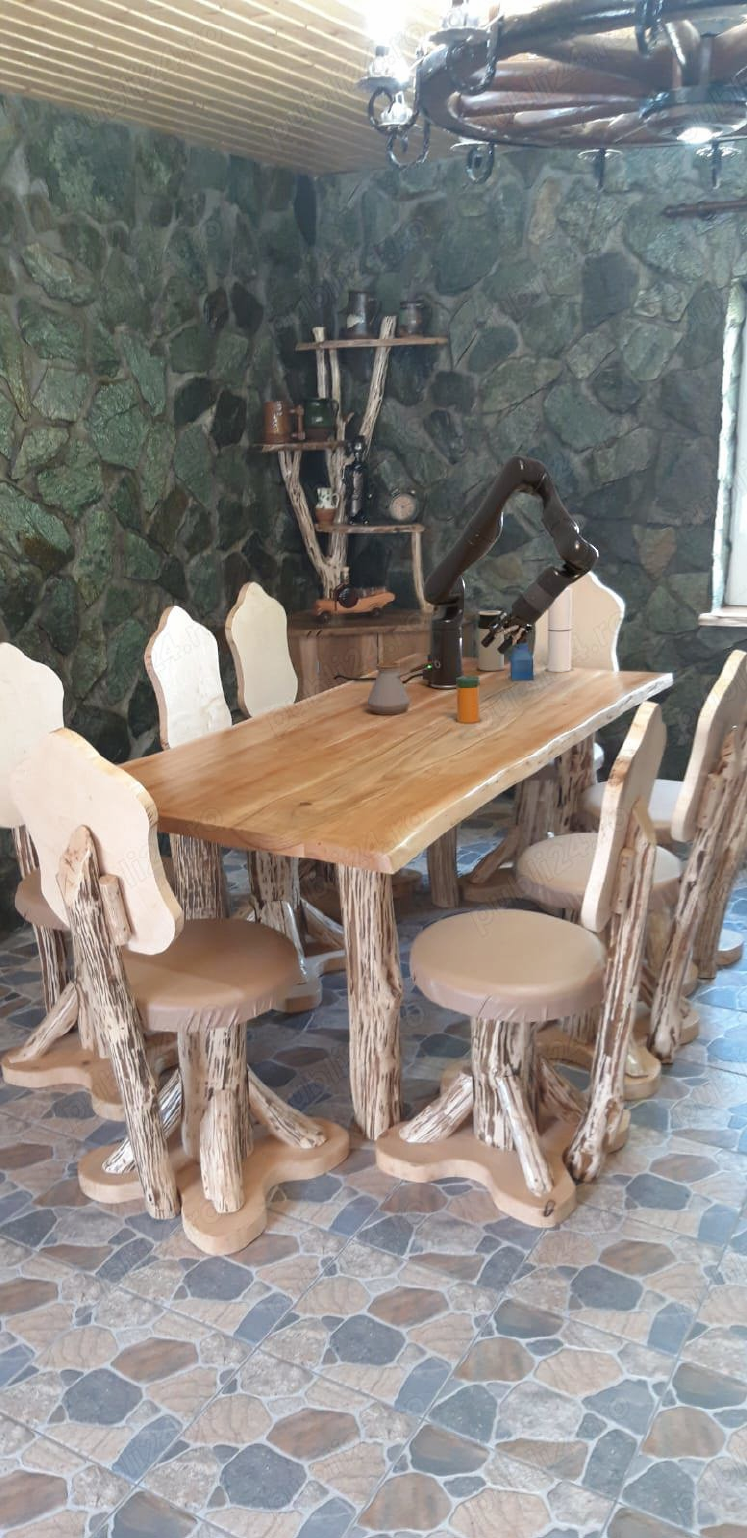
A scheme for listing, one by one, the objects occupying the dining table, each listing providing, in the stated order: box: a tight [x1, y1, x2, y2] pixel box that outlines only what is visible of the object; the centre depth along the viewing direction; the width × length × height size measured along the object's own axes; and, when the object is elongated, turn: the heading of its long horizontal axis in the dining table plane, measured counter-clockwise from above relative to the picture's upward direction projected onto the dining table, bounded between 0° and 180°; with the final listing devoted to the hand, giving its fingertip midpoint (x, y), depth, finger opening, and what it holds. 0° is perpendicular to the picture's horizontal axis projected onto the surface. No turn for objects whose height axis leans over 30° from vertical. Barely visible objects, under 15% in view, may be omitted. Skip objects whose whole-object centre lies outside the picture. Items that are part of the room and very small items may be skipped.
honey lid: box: [456, 675, 481, 687], centre depth 299 cm, size 6×6×2 cm
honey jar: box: [456, 685, 480, 724], centre depth 300 cm, size 6×6×11 cm
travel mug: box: [477, 610, 505, 672], centre depth 368 cm, size 8×8×18 cm
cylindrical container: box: [547, 587, 573, 673], centre depth 363 cm, size 7×7×25 cm
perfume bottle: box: [509, 637, 534, 681], centre depth 353 cm, size 6×6×12 cm
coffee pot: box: [367, 660, 440, 716], centre depth 310 cm, size 21×12×15 cm, turn 57°
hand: (491, 648), depth 306 cm, fingers open, 8 cm apart
